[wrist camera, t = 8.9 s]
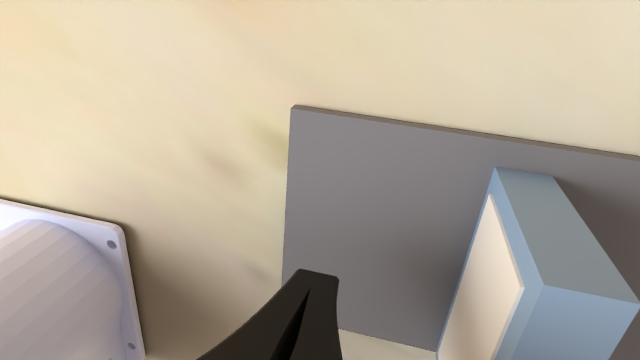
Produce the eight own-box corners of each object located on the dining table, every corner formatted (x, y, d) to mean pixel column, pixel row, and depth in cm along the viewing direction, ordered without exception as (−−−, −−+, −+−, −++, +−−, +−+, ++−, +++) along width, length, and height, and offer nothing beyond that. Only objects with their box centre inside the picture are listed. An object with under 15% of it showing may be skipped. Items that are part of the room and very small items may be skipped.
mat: (624, 387, 17) (630, 398, 16) (283, 306, 19) (280, 314, 19) (768, 175, 12) (781, 183, 12) (294, 104, 14) (290, 108, 14)
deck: (478, 360, 17) (504, 527, 12) (433, 350, 17) (439, 507, 12) (551, 175, 13) (642, 305, 8) (491, 165, 13) (538, 283, 8)
